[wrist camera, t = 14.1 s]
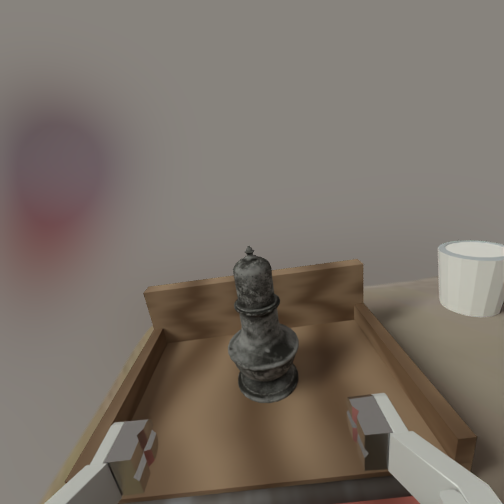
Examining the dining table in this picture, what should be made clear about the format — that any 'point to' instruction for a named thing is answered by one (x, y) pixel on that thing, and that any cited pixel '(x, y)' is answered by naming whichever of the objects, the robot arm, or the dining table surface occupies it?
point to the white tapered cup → (471, 277)
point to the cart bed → (277, 413)
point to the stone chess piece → (261, 335)
